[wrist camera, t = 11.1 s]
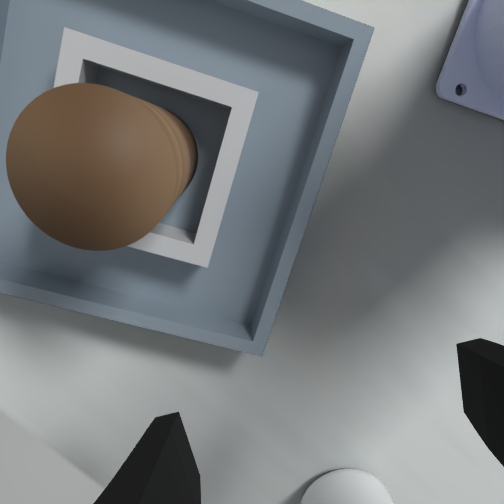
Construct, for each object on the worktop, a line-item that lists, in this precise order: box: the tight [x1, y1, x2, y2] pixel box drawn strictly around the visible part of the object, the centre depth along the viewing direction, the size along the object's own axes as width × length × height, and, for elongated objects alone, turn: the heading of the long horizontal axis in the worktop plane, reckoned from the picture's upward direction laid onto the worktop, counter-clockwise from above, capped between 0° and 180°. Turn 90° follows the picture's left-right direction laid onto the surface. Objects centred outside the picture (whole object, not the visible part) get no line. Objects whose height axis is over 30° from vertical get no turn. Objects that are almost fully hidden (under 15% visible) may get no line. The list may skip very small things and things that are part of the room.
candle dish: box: [0, 0, 374, 356], centre depth 17 cm, size 14×14×3 cm
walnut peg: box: [6, 83, 198, 251], centre depth 14 cm, size 4×4×8 cm
